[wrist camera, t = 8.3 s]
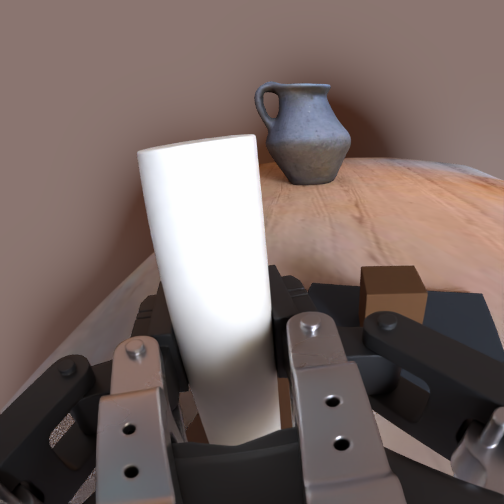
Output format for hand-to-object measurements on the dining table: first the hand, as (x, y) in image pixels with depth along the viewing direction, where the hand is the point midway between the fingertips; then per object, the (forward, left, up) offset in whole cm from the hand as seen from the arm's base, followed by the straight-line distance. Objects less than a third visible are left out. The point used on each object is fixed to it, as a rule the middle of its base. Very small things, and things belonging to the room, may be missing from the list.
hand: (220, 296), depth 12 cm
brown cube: (+7, +10, -8) cm, 15 cm away
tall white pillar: (+1, -3, -8) cm, 9 cm away
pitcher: (-12, +67, -9) cm, 69 cm away
